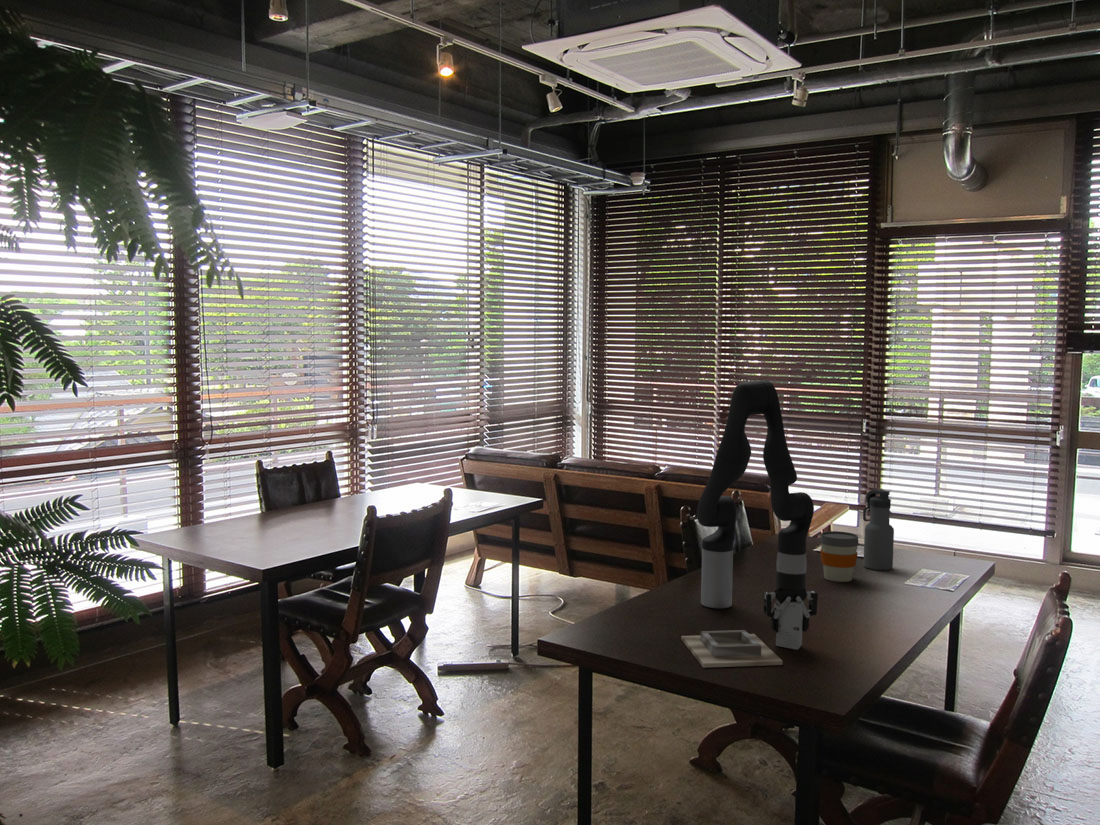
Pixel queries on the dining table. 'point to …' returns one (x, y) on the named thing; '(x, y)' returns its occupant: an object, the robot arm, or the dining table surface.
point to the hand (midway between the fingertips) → (789, 631)
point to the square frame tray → (730, 649)
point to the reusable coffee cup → (838, 555)
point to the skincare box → (790, 626)
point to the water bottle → (878, 532)
